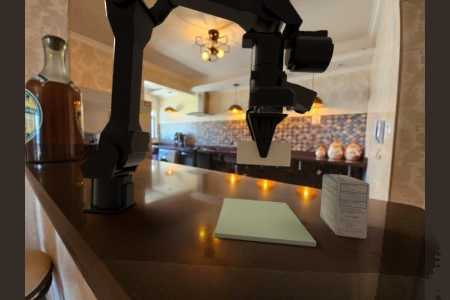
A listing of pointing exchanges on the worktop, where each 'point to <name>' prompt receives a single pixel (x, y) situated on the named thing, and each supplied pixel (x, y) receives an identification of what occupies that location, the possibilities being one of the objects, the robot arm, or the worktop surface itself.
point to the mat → (261, 223)
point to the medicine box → (345, 205)
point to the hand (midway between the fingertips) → (261, 156)
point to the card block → (276, 155)
